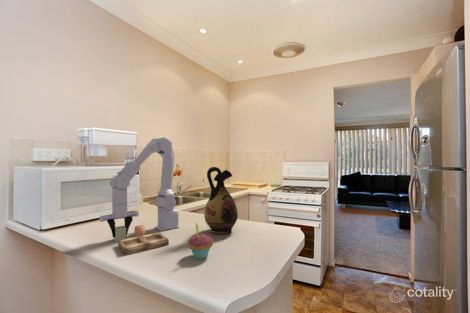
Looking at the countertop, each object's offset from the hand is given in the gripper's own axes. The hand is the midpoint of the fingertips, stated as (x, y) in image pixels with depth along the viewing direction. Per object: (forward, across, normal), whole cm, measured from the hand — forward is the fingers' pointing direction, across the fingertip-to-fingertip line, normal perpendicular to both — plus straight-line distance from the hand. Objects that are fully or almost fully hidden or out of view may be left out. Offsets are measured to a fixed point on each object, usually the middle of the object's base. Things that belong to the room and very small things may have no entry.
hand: (119, 235), depth 97 cm
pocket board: (+1, -6, +14) cm, 15 cm away
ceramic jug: (+2, -39, +17) cm, 43 cm away
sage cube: (+1, 0, 0) cm, 1 cm away
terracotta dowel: (+2, -7, +4) cm, 8 cm away
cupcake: (+2, -19, +36) cm, 41 cm away
